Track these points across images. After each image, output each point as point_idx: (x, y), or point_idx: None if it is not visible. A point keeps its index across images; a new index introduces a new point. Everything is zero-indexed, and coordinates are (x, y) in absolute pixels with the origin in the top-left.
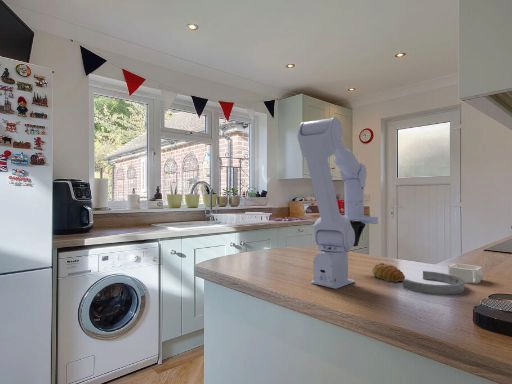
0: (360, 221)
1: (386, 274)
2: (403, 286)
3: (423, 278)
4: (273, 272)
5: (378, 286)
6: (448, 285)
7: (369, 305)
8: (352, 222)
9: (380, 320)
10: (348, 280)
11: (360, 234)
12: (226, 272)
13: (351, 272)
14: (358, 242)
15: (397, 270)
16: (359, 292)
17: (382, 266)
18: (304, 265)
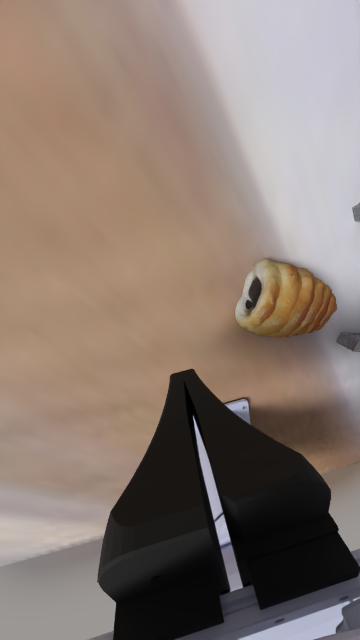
0: (339, 595)
1: (297, 334)
2: (339, 343)
3: (357, 219)
4: (77, 489)
5: (293, 376)
6: None
7: (324, 445)
8: (222, 599)
9: (352, 460)
10: (239, 412)
11: (226, 410)
12: (37, 548)
13: (174, 344)
14: (198, 377)
15: (325, 305)
16: (286, 425)
17: (284, 324)
18: (24, 407)
